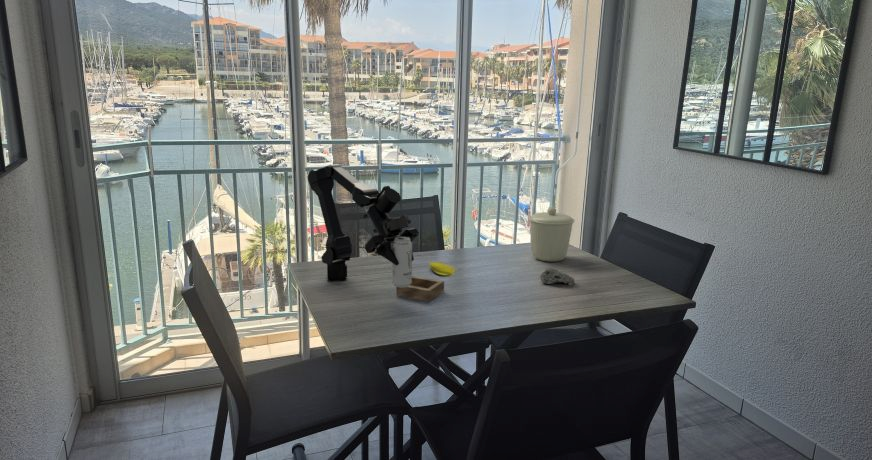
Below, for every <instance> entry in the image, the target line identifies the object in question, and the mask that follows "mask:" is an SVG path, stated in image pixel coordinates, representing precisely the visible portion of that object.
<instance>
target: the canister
mask: <svg viewBox="0 0 872 460" xmlns="http://www.w3.org/2000/svg"><path fill="white" fill-rule="evenodd" d="M528 220H529V225H530V226H529V227H530V229H529V230H530V231H529V232H530V245H531V253H532V256H533V257H534V258H535V259H536V260H539V261H541V262H549V263H550V262H551V263H553V262H555V263H556V262H561V261H563V260H564V259H565V258H566V256H567V254H568V250H569V246H570V241H571V240H570V239H571V235H572V228H573V223H575V219H574V218H573V217H571V216H570V215H568V214H566V213H565V214H564V213H561V212H560V213H559V212H557V209H556V207H554V206H553V207H552V206H551V207H550V206H549V207H548V208H547V211H546V212H545V211H544V212H535V213H533V214H532V215H530V216H528Z"/></svg>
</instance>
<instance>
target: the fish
mask: <svg viewBox="0 0 872 460" xmlns="http://www.w3.org/2000/svg"><path fill="white" fill-rule="evenodd" d="M429 268H430V269H431V270H432V271H433V272H434V273H436V274H438V275H440V276H448V277H450V276H451V275H453V273H454V271H455V269H456V268H454V267H453V266H450V265H447V264H445V263H442V262H435V261H434V262H433V261H430V263H429Z"/></svg>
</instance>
